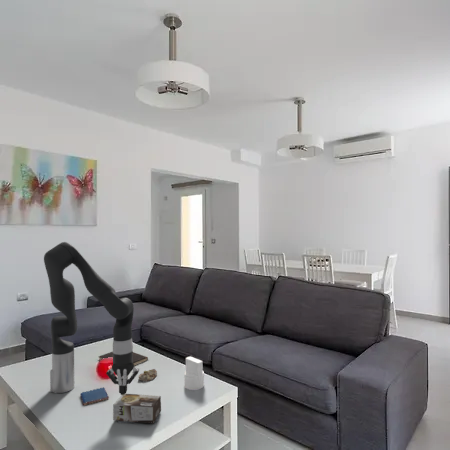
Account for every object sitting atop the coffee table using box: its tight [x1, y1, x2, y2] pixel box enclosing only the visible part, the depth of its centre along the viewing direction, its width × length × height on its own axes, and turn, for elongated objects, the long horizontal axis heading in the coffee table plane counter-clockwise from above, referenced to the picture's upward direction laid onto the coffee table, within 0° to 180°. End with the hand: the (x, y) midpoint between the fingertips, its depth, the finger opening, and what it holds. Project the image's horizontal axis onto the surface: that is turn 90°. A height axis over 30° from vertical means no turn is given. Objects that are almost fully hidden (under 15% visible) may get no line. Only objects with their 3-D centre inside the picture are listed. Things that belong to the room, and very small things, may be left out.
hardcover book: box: [98, 351, 149, 366], centre depth 189 cm, size 16×23×2 cm
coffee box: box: [112, 393, 162, 424], centre depth 133 cm, size 9×6×16 cm
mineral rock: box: [138, 368, 158, 382], centre depth 167 cm, size 11×4×8 cm
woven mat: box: [79, 387, 110, 406], centre depth 148 cm, size 10×11×2 cm
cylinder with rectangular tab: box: [183, 356, 205, 391], centre depth 158 cm, size 9×9×12 cm
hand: (123, 393), depth 134 cm, fingers closed
